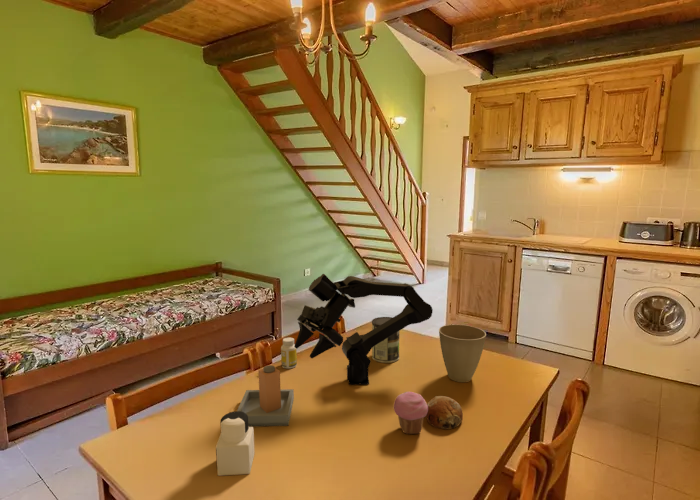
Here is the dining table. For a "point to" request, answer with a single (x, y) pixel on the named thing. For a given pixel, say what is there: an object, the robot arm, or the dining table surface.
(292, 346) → the supplement bottle
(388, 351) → the coffee can
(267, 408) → the block
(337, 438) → the dining table surface
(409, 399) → the cupcake
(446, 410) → the bread roll
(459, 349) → the plant pot
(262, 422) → the tray
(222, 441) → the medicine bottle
